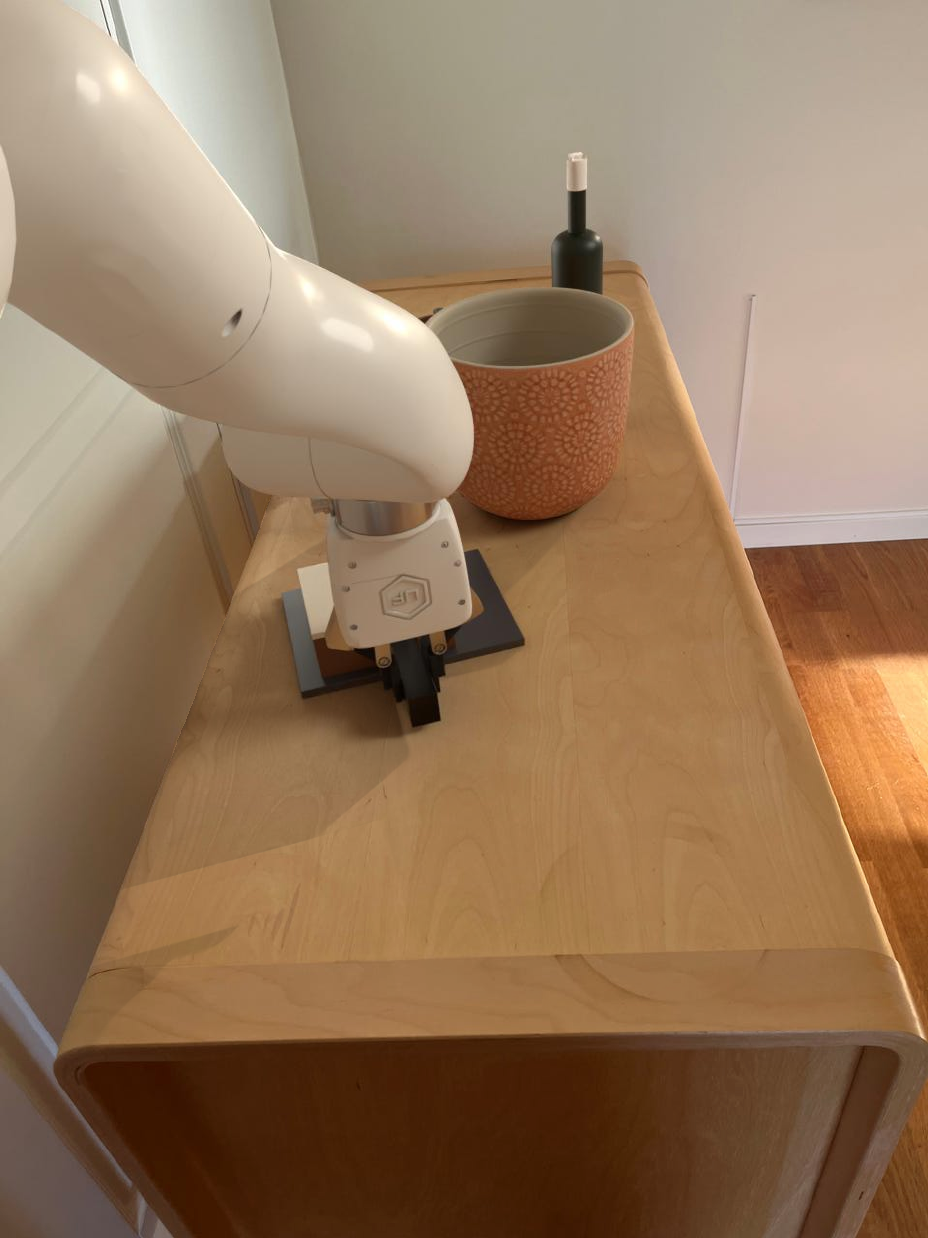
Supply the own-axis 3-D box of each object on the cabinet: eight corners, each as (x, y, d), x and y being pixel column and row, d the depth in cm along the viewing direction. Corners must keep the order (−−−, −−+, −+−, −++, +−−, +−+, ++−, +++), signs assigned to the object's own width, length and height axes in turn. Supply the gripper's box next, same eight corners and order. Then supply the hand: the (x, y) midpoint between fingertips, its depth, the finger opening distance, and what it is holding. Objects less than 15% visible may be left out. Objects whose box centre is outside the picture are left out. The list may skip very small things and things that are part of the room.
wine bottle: (589, 429, 112) (590, 161, 93) (547, 422, 114) (539, 159, 96) (608, 409, 116) (612, 148, 97) (566, 402, 118) (563, 146, 99)
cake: (525, 645, 82) (522, 593, 78) (302, 699, 78) (288, 647, 75) (478, 554, 93) (474, 506, 89) (282, 598, 90) (270, 550, 86)
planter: (592, 433, 111) (593, 274, 99) (657, 523, 95) (667, 345, 83) (424, 463, 109) (405, 304, 97) (461, 560, 92) (443, 383, 81)
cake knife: (441, 721, 74) (435, 680, 71) (412, 728, 73) (405, 688, 71) (395, 594, 88) (389, 556, 85) (370, 600, 87) (363, 562, 84)
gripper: (277, 548, 61) (326, 742, 72) (510, 498, 63) (521, 693, 75) (266, 493, 66) (312, 681, 78) (479, 449, 69) (494, 637, 80)
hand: (414, 685), depth 76 cm, fingers closed on cake knife, 2 cm apart
